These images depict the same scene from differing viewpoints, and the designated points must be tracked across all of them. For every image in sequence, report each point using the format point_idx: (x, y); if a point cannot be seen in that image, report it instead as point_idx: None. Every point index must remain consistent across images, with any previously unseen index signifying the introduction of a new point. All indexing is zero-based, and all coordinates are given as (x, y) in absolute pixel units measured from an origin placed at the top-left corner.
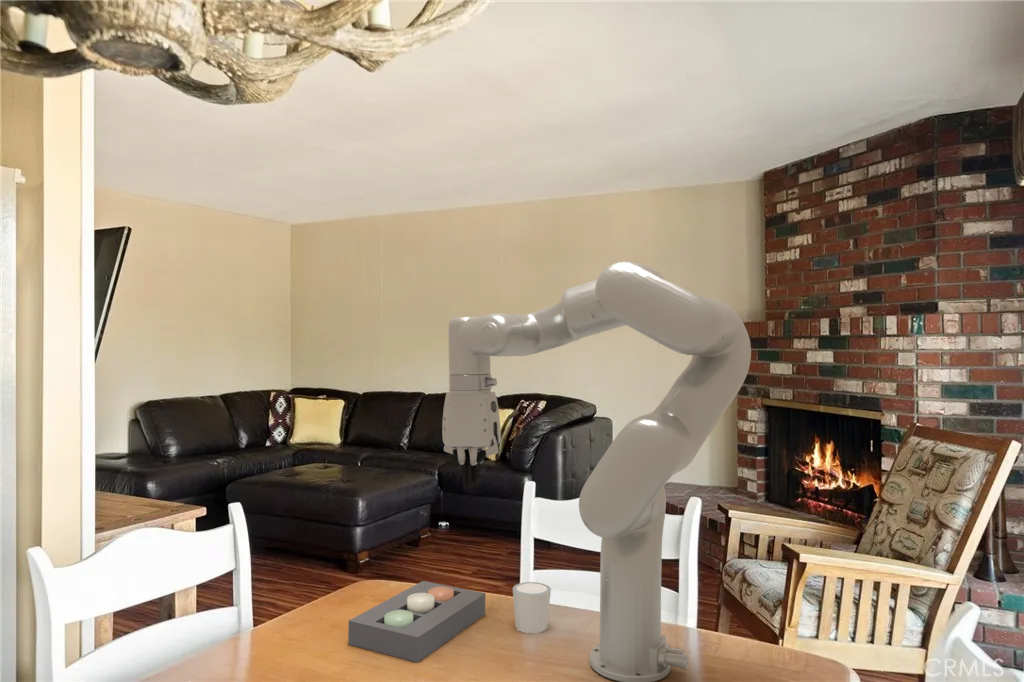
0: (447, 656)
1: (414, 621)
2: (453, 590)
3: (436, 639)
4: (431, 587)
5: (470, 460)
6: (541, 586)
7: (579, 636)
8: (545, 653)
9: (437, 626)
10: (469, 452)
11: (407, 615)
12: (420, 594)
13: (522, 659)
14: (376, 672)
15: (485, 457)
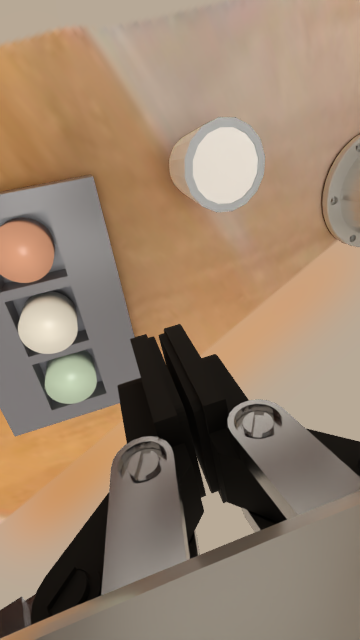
0: None
1: (99, 368)
2: (40, 231)
3: None
4: None
5: (251, 523)
6: (236, 138)
7: (281, 144)
8: (262, 236)
9: None
10: (184, 532)
11: (82, 373)
12: (32, 319)
13: (245, 273)
14: (121, 418)
15: (343, 445)
